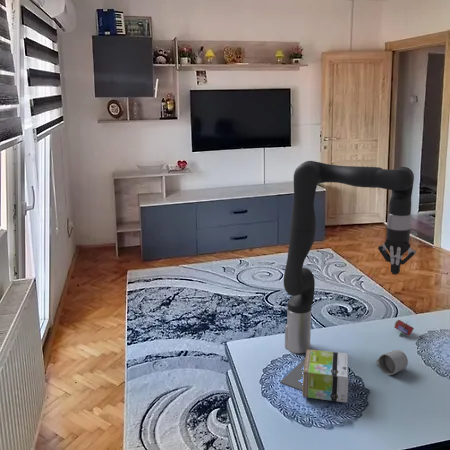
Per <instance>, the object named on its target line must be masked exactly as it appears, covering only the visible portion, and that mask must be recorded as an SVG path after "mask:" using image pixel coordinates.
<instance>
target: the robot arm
mask: <svg viewBox="0 0 450 450" xmlns="http://www.w3.org/2000/svg"><path fill="white" fill-rule="evenodd" d="M414 175H415V174H414V173H413V171H412V169H410V168H409V167H406V166H399V167H397V168H395V169H387V168H386V169H385V168H382V167H379V166H357V165H356V166H353V165H352V166H348V165H337V164H331V163H325V162H320V161H316V160H306V161H303V162H302V163H301V164H300V165H298V166H297V167H296V168H295V170H294V172H293V204H292V205H293V206H292V210H291V217H290V218H291V219H290V227H289V228H290V229H289V239H288V240H289V242H288V251H287V259H286V263H285V264H286V265H285V269H284V276H283V288H284V290H285V292H286V293H287V294H288V295H289V296H291V297H290V298H289V299H288V301H287V307H286V308H287V313H286V316H287V317H286V318H287V319H286V320H287V322H286V323H287V324H286V325H285V326H284V331H285V332H284V348H285V349H287V351H290V353H293V354H306V352H307V349H308V350H311V329H312V322H311V321H312V306H313V303H314V299H315V287H316V285H315V284H316V283H315V276H314V274H313V272H312V271H311V270H310V269H309V268H307V267H303V266H304V263H305V260H306V259H307V256H308V254H309V253H310V250H311V249H312V246H313V245H314V242H315V238H316V228H317V221H316V220H317V219H316V218H317V217H316V212H315V197H316V192H317V191H316V190H317V187H318V185H319V184H325V183H327V184H328V183H335V184H336V183H337V184H344V185H348V186H352V187H356V188H357V187H358V188H375V189H378V188H379V189H383V190H390V191H391V194H390V195H391V196H390V198H389V204H388V205H389V206H388V214H387V223H386V235H385V237H386V238H385V241H384V243H383V244H381V245H379V246H378V251H379V252H380V254H381V256H382V257H383V259H384V260H385V262H388V263H390V273H391V274H392V275H395V276H396V275H398V274H399V273H400V272H401V265H405V263H407V262H408V261H409V260H410V259H412V258H413V257H414V255H415V254H416V253H417V251H416V250H414V249H413V248H411V244H410V238H411V237H410V236H411V227H412V220H411V219H412V217H411V216H412V215H411V213H412V196H413V195H412V194H413V189H414V181H415V176H414ZM406 252H407V256H406V257H404V259H403V255H405V254H406Z"/></svg>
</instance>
